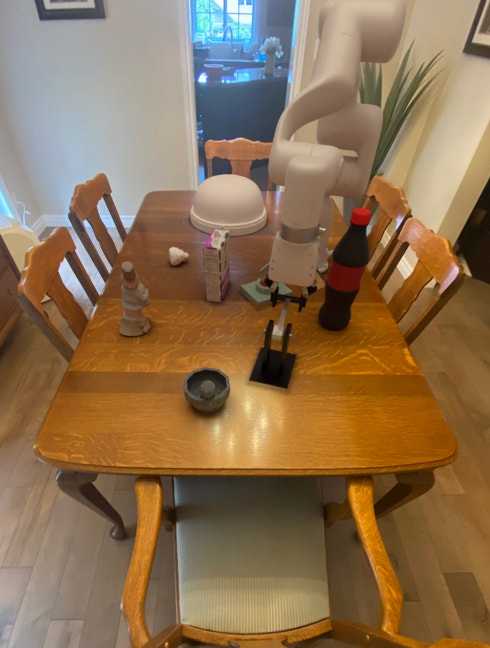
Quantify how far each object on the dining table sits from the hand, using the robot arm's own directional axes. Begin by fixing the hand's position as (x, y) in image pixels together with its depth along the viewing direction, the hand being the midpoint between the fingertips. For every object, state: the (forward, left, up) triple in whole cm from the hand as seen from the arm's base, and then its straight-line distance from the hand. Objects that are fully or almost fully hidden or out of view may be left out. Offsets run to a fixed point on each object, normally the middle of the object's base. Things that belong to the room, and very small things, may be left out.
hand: (287, 305), depth 86 cm
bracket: (+8, +8, -11) cm, 16 cm away
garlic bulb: (+7, -49, -11) cm, 51 cm away
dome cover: (-24, -72, -11) cm, 77 cm away
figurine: (+31, -23, -11) cm, 40 cm away
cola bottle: (-16, +1, -11) cm, 20 cm away
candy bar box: (+4, -28, -11) cm, 31 cm away
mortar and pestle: (+27, +11, -11) cm, 31 cm away
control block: (-8, -20, -11) cm, 25 cm away
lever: (+4, +4, 0) cm, 6 cm away
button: (-8, -20, -7) cm, 23 cm away
